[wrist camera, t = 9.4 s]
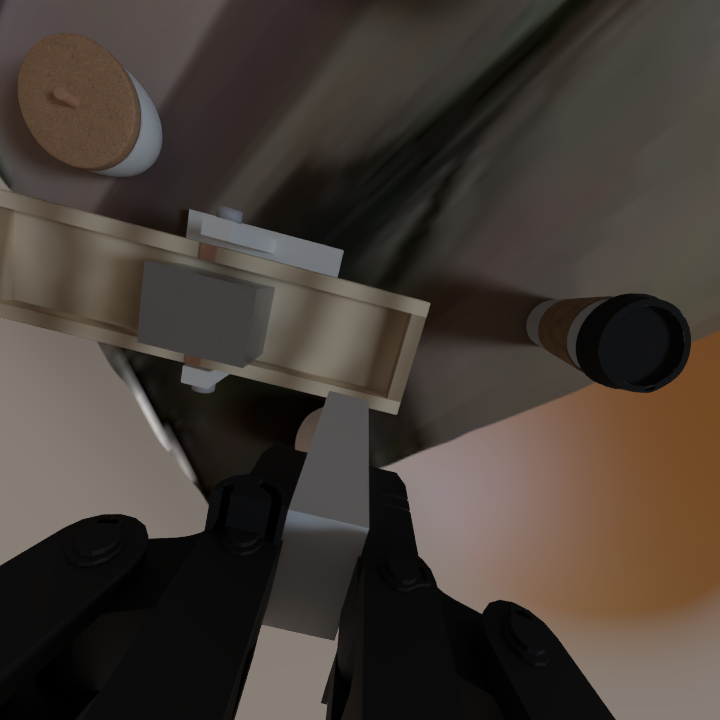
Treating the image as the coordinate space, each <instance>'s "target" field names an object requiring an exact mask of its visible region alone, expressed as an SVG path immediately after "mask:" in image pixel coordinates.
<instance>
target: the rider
mask: <svg viewBox="0 0 720 720" xmlns="http://www.w3.org/2000/svg"><path fill="white" fill-rule="evenodd" d="M274 291H275V287H271V286H267V285H263V284H260V283H256V282H252V281H248V280H244V279H240V278H236V277H232V276H229V275H225V274H221V273H217V272H213V271H209V270H205V269H201V268H197V267H194V266H190V265H186V264H181V263H169V262H157V261H144V271H143V281H142V292H141V303H140V313H139V324H138V334H137V342H138V343H142V344H146V345H150V346H154V347H158V348H162V349H166V350H170V351H174V352H179V353H183V354H187V355H191V356H195V357H199V358H203V359H207V360H211V361H215V362H219V363H223V364H228V365H232V366H236V367H240V368H244V367H246V366H247V365H248V364H250V363H251V362H252V361H254V360H255V359H256V358H258V357H259V356H260V355H262V354H263V350H264V344H265V339H266V334H267V328H268V323H269V318H270V313H271V307H272V302H273V297H274Z"/></svg>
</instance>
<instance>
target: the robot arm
mask: <svg viewBox="0 0 720 720" xmlns="http://www.w3.org/2000/svg"><path fill="white" fill-rule="evenodd" d="M407 499H408V497H407V492H406V487H405V484H404V483H403V482H402V480H401V479H400V477H399V476H398V475H397V473H395V472H391V471H386V470H383V469H378V468H374V467H370V466H369V426H368V400H365V399H361V398H357V397H353V396H349V395H345V394H341V393H337V392H333V391H329V393H328V396H327V399H326V402H325V405H324V407H323V410H322V413H321V416H320V419H319V422H318V425H317V428H316V431H315V434H314V436H313V439H312V442H311V445H310V448H309V451H308V453H307V452H303V451H299V450H295V449H290V448H286V447H282V446H278V445H275V446H273V447H271V448H270V449H268V450H266V451H265V452H263V453H262V455H261V456H260V458H259V460H258V461H257V463H256V466H254V468H253V470H252V471H251V473H250V474H245V475H237V476H232V477H230V478H227V479H225V480H222V481H221V482H219V483H218V484H217V485H216V486H215V487H214V488H213V489H212V491H211V497H210V502H209V508H208V514H207V520H206V526H205V530H204V531H203V532H201V533H198V534H195V535H191V536H186V537H178V538H157V539H148V534H147V530H146V527H145V525H144V524H142V523H141V522H140V521H139V520H137V519H136V518H133V517H130V516H126V515H122V514H107V515H106V514H105V515H99V516H95V517H90V518H86V519H82V520H80V521H78V522H76V523H74V524H72V525H69V526H67V527H65V528H63V529H61V530H60V531H58V532H56V533H54V534H53V535H51V536H50V537H48V538H46V539H44V540H43V541H41V542H39V543H38V544H36V545H34V546H33V547H31V548H29V549H28V550H26V551H24V552H22V553H21V554H19V555H17V556H16V557H14V558H13V559H11V560H9V561H7V562H6V563H4V564H3V565H1V566H0V720H234V719H235V715H236V712H237V709H238V705H239V702H240V699H241V696H242V692H243V689H244V685H245V682H246V679H247V676H248V672H249V669H250V665H251V662H252V659H253V655H254V651H255V647H256V643H257V638H258V635H259V632H260V628H261V625H266V626H271V627H275V628H280V629H284V630H289V631H294V632H298V633H303V634H307V635H311V636H316V637H320V638H325V639H329V640H335V637H336V634H337V631H338V627H339V635H338V648H337V652H336V655H335V659H334V662H333V665H332V668H331V672H330V674H329V678H328V681H327V684H326V687H325V691H324V694H323V698H322V701H321V703H323V704H327V714H326V720H616V719H615V718H614V717H613V716H612V714H611V713H610V711H609V710H608V708H607V707H606V705H605V704H604V703H603V701H602V700H601V699H600V697H599V696H598V694H597V693H596V691H595V690H594V689H593V687H592V686H591V684H590V683H589V682H588V681H587V679H586V677H585V676H584V675H583V673H582V672H581V670H580V669H579V668H578V666H577V665H576V664H575V662H574V661H573V659H572V658H571V656H570V655H569V654H568V652H567V651H566V649H565V648H564V647H563V645H562V644H561V642H560V641H559V639H558V638H557V637H556V636H555V635H554V634H553V632H552V631H551V630H550V629H549V628H548V627H547V625H546V624H545V623H544V622H543V621H541V620H540V619H539V618H538V617H536V616H535V615H534V614H533V613H531V612H530V611H529V610H527V609H525V608H523V607H521V606H519V605H517V604H515V603H513V602H508V601H503V600H498V601H495V602H491V603H489V604H488V606H487V607H486V609H485V610H484V611H483V614H481V613H479V612H477V611H475V610H473V609H471V608H469V607H467V606H466V605H464V604H462V603H460V602H458V601H456V600H454V599H452V598H451V597H450V596H448V595H446V594H445V593H443V592H442V591H441V590H440V589H439V588H437V584H436V581H435V578H434V576H433V574H432V571H431V570H430V568H429V567H428V566H427V564H426V563H425V562H424V561H423V560H422V559H421V558H420V557H419V556H418V552H417V546H416V541H415V536H414V530H413V524H412V519H411V514H410V512H409V511H410V508H409V503H408V501H407ZM327 702H328V703H327Z"/></svg>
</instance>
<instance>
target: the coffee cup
mask: <svg viewBox="0 0 720 720" xmlns="http://www.w3.org/2000/svg"><path fill="white" fill-rule="evenodd" d="M526 330H527V334H528V336H529V338H530V339H531V340H532V341H533V342H534V343H535V344H537V345H538V346H540V347H542V348H544V349H546V350H547V351H549V352H550V353H552V354H553V355H555V356H557V357H558V358H560V359H562V360H563V361H565V362H566V363H568V364H570V365H571V366H573V367H574V368H576V369H578V370H579V371H581V372H583V373H585V374H586V376H588V377H589V378H590V379H591V380H593V381H595V382H597V383H599V384H602V385H604V386H607V387H610V388H614V389H623V390H627V391H632V392H641V393H649V392H653V391H655V390H658V389H660V388H661V387H663V386H665V385H667V384H668V383H670V382H671V381H672V380H674V379H675V378H676V377H677V376H678V375H679V374H680V373H681V372H682V370H683V369H684V367H685V365H686V363H687V360H688V357H689V353H690V348H691V335H690V330H689V326H688V323H687V321H686V318H685V317H684V315H683V314H682V312H681V311H680V310H679V309H678V308H677V307H676V306H674V305H672V304H671V303H669V302H667V301H663V300H660V299H658V298H656V297H654V296H651V295H647V294H631V293H630V294H623V295H619V296H607V297H592V298H576V299H561V300H548V301H545V302H542V303H540V304H538V305H537V306H536V307H535V308H534V309H533V310H532V311H531V313H530V314H529V316H528V319H527V323H526Z"/></svg>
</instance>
